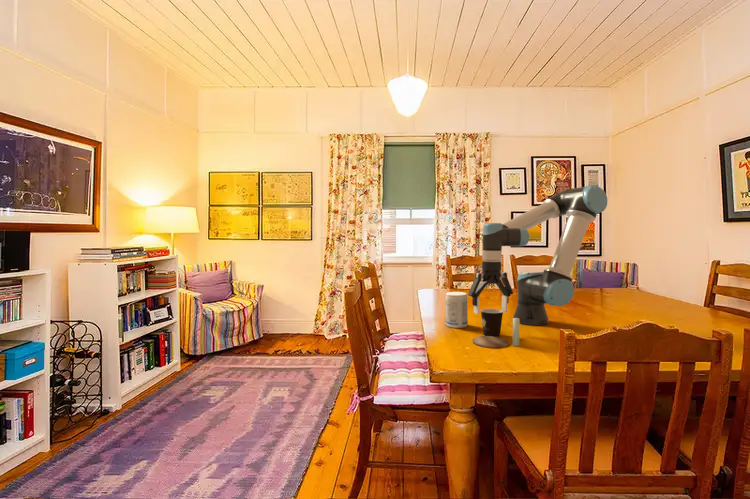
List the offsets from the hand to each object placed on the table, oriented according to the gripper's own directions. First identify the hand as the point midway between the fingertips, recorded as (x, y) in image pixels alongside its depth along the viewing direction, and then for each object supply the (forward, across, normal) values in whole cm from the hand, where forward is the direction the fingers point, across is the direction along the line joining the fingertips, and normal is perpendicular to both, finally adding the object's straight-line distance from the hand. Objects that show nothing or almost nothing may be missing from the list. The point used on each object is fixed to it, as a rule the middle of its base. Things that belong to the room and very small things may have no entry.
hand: (490, 312), depth 158 cm
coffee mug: (+9, -1, 0) cm, 9 cm away
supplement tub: (+9, +5, -17) cm, 20 cm away
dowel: (+9, 0, +16) cm, 18 cm away
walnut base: (+9, +7, +10) cm, 15 cm away
